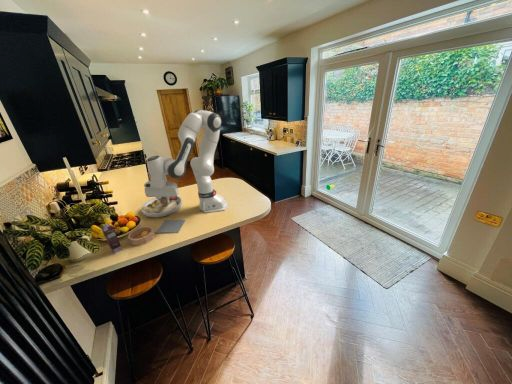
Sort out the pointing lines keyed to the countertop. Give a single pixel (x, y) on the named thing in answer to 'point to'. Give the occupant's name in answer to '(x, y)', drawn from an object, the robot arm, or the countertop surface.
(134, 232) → the bowl
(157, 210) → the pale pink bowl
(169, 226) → the mat
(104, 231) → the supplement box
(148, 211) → the bowl
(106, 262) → the countertop surface
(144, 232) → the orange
